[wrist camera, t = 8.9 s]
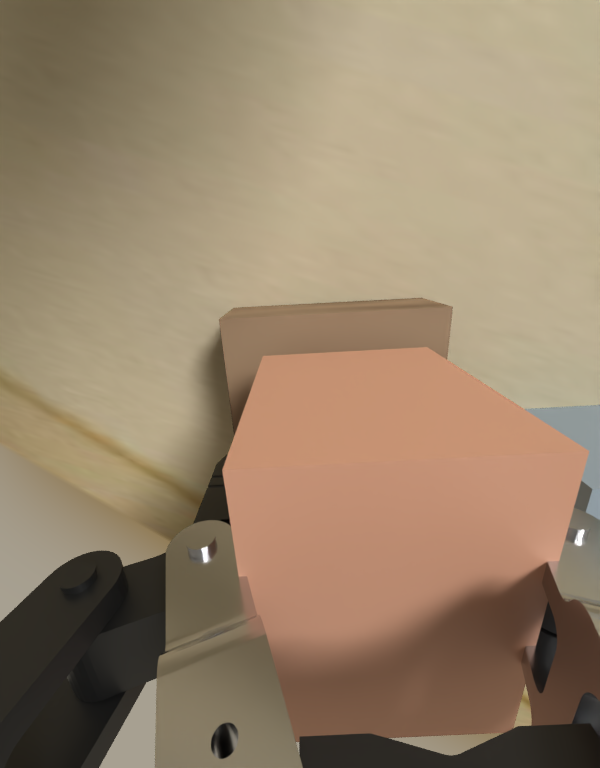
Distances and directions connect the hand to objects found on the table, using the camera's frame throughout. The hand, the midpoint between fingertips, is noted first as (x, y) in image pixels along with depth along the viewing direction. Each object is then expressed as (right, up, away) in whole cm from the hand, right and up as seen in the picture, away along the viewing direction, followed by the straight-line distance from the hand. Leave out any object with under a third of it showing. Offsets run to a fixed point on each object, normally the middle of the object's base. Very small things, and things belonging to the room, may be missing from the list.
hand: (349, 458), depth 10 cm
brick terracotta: (0, 0, +1) cm, 1 cm away
